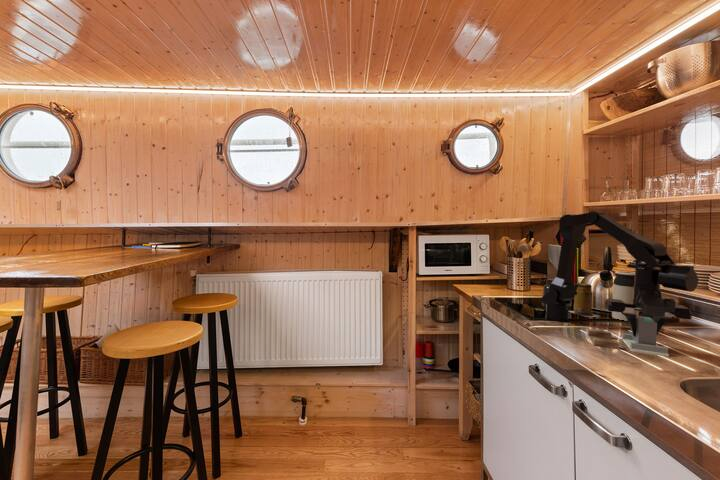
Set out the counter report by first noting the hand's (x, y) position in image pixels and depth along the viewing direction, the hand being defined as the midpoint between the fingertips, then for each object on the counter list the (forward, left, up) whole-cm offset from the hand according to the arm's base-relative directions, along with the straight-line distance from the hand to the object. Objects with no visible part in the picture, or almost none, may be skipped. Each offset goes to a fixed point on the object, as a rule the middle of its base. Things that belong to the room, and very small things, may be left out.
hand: (643, 337), depth 98 cm
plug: (0, 0, -2) cm, 2 cm away
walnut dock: (-10, 0, -3) cm, 10 cm away
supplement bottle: (-21, +42, -3) cm, 47 cm away
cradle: (0, 0, -3) cm, 3 cm away
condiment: (-10, +35, -4) cm, 37 cm away
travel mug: (+3, +34, -3) cm, 34 cm away
